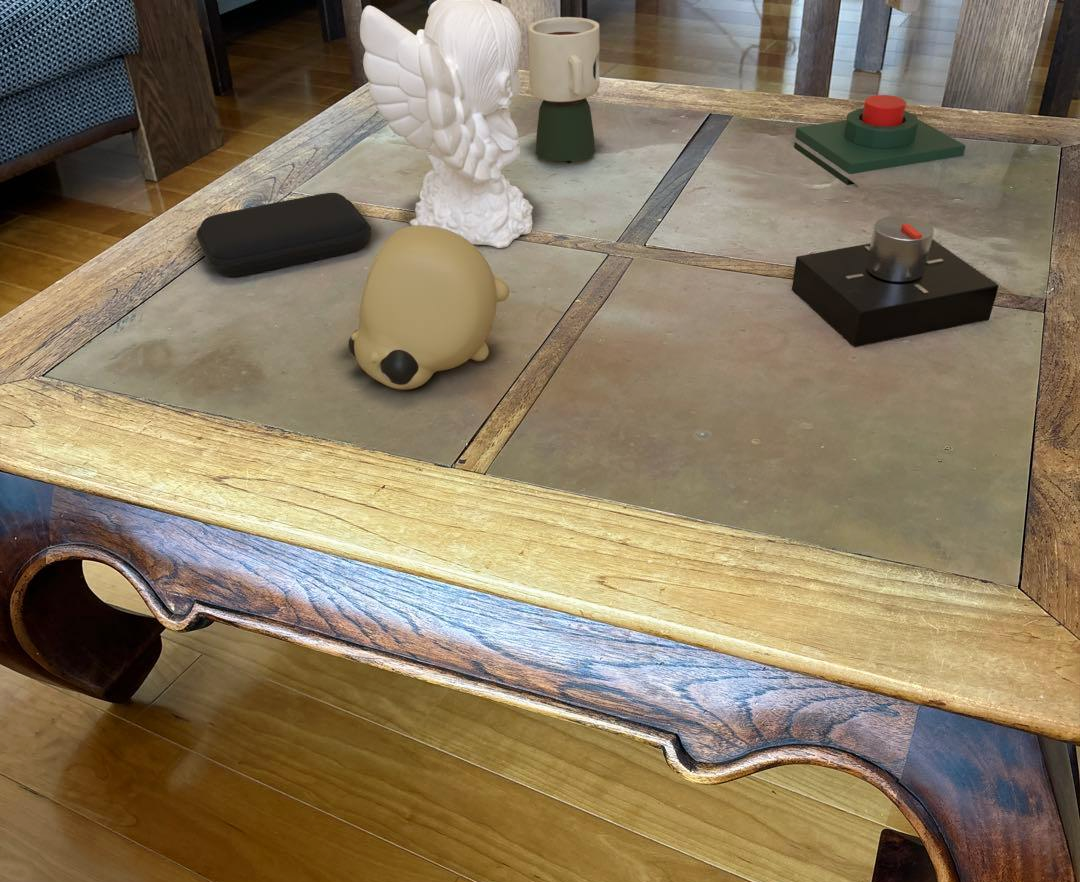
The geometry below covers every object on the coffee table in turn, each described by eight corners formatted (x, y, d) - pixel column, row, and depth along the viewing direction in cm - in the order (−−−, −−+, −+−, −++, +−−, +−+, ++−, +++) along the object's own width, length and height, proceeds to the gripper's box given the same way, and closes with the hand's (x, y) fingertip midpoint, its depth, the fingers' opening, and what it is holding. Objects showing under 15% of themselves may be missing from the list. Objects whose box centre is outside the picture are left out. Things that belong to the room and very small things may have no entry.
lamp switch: (900, 131, 112) (907, 93, 109) (960, 167, 104) (970, 127, 101) (793, 148, 109) (798, 109, 107) (847, 185, 101) (854, 145, 99)
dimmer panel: (917, 266, 88) (925, 231, 86) (989, 320, 80) (1000, 283, 78) (791, 289, 85) (796, 254, 83) (854, 347, 78) (861, 310, 76)
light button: (888, 113, 106) (892, 92, 105) (910, 125, 103) (914, 104, 102) (853, 118, 105) (857, 97, 104) (874, 131, 102) (878, 110, 101)
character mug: (612, 172, 105) (615, 36, 97) (546, 181, 104) (542, 44, 96) (583, 137, 114) (583, 8, 105) (521, 144, 112) (515, 15, 104)
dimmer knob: (856, 261, 82) (864, 215, 80) (906, 254, 83) (916, 208, 80) (882, 285, 79) (892, 239, 76) (934, 278, 80) (946, 231, 77)
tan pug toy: (404, 379, 83) (296, 329, 75) (478, 247, 81) (375, 182, 73) (466, 431, 77) (355, 383, 69) (548, 290, 74) (443, 223, 67)
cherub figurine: (565, 238, 94) (562, -2, 81) (445, 274, 89) (421, 26, 76) (494, 192, 102) (481, -32, 89) (381, 223, 98) (349, -9, 85)
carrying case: (346, 210, 100) (194, 240, 96) (341, 179, 98) (186, 209, 94) (379, 252, 93) (216, 287, 88) (374, 220, 91) (208, 254, 86)
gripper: (1044, -154, 81) (997, 34, 91) (901, -182, 96) (873, -19, 105) (976, -148, 80) (935, 42, 89) (841, -178, 95) (818, -13, 104)
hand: (900, 8), depth 97 cm, fingers closed
